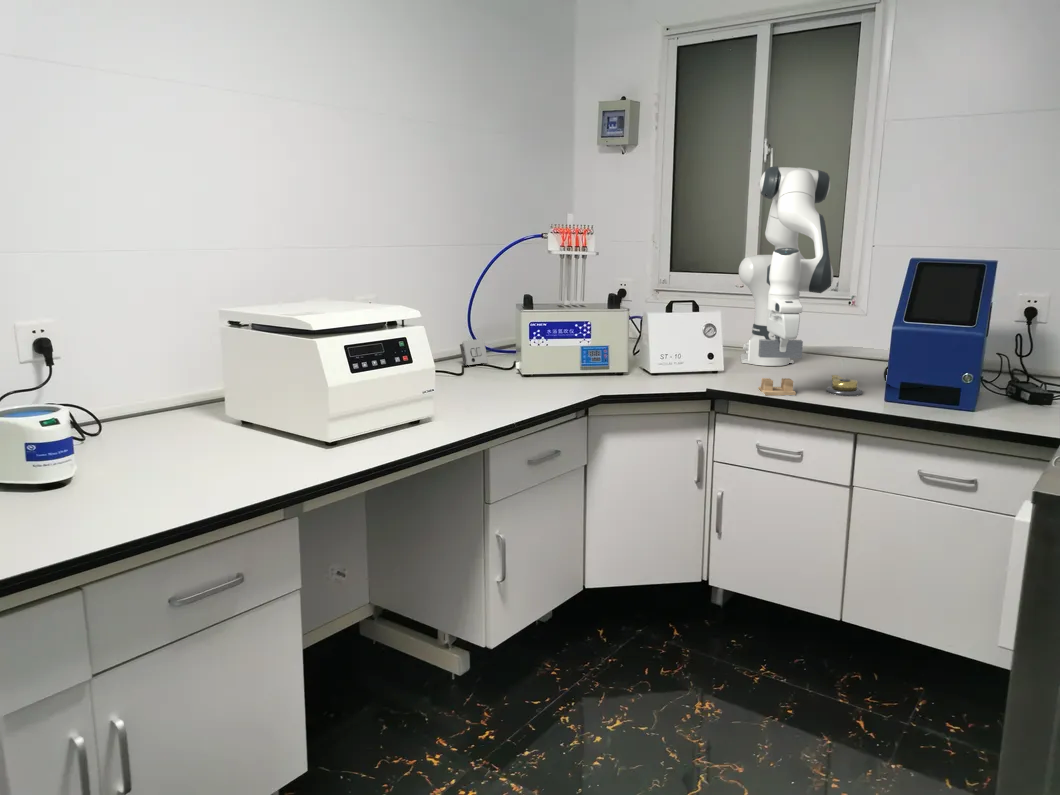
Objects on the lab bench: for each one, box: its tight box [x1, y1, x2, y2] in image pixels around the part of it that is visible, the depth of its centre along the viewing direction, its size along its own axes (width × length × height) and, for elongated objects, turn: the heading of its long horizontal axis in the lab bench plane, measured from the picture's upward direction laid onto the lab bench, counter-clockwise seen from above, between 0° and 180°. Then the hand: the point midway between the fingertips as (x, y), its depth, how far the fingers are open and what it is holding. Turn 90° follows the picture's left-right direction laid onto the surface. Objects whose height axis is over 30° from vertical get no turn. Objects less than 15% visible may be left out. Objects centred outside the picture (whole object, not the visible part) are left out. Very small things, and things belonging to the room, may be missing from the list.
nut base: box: [826, 385, 863, 397], centre depth 239 cm, size 10×10×1 cm
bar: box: [758, 339, 804, 359], centre depth 236 cm, size 3×12×5 cm, turn 84°
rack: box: [757, 377, 797, 396], centre depth 238 cm, size 8×9×4 cm
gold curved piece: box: [831, 374, 858, 391], centre depth 241 cm, size 12×7×3 cm, turn 178°
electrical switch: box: [459, 338, 489, 366], centre depth 285 cm, size 9×5×9 cm, turn 132°
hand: (780, 350), depth 236 cm, fingers closed on bar, 3 cm apart
